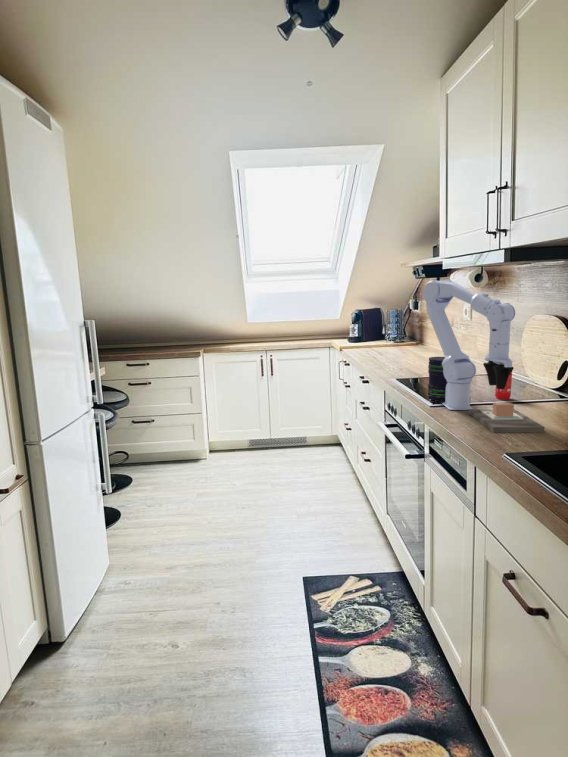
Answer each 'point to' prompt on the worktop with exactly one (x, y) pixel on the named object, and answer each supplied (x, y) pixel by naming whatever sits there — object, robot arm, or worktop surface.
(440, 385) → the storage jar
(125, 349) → the worktop surface
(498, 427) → the ticket board
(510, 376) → the beverage can
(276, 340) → the worktop surface
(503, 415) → the stub
